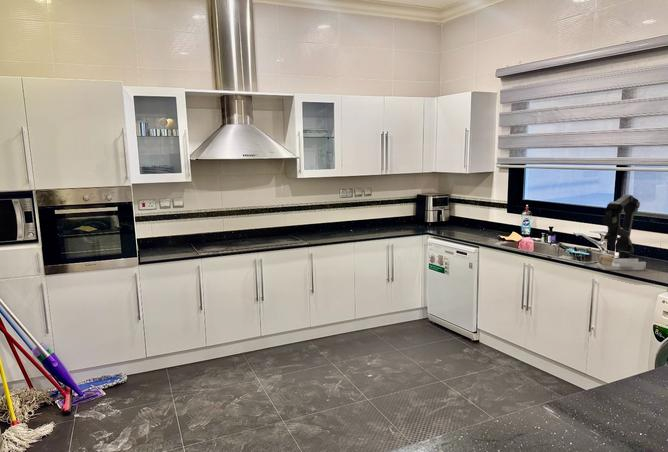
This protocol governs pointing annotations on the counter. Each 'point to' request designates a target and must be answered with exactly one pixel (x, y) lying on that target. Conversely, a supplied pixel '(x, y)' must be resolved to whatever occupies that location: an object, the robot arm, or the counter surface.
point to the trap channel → (624, 265)
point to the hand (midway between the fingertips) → (611, 249)
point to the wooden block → (605, 260)
